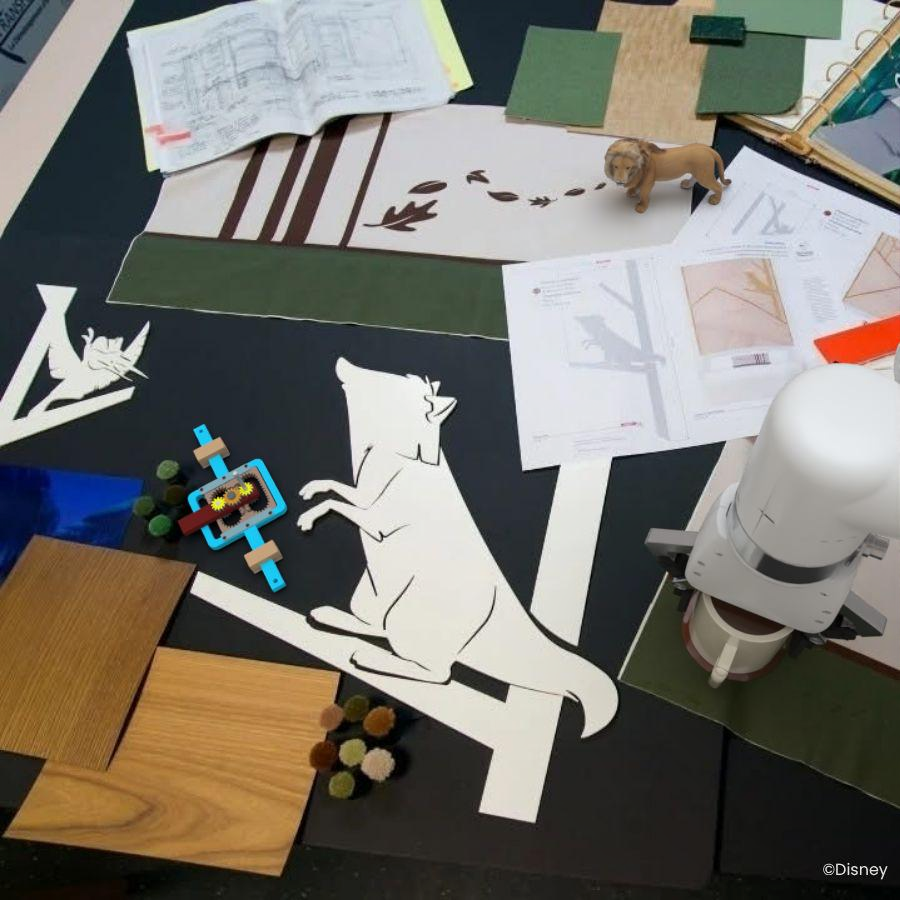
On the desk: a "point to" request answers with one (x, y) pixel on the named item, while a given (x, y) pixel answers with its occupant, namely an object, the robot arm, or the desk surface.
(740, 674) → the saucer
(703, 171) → the lion figurine
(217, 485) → the gear mechanism
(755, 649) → the mug
